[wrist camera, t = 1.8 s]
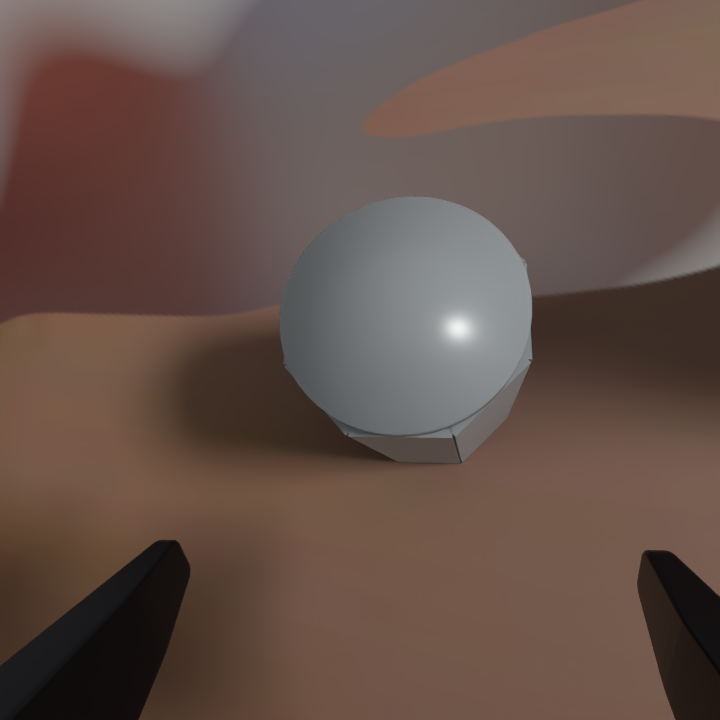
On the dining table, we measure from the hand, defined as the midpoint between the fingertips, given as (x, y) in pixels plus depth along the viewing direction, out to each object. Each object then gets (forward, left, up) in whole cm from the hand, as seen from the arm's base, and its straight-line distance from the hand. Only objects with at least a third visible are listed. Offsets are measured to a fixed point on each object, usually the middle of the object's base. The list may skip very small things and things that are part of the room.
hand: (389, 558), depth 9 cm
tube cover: (+4, +5, -12) cm, 14 cm away
